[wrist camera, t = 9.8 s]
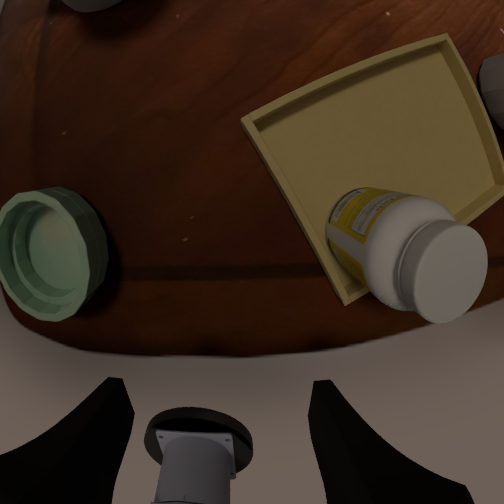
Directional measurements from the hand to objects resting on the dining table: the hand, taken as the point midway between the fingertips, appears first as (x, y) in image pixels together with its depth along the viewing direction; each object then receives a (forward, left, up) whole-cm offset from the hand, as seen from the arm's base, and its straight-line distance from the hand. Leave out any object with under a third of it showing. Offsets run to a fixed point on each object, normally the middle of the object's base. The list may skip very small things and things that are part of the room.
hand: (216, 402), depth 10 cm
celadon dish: (+4, +12, -10) cm, 16 cm away
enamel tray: (+10, -12, -10) cm, 18 cm away
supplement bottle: (+5, -9, -10) cm, 14 cm away
